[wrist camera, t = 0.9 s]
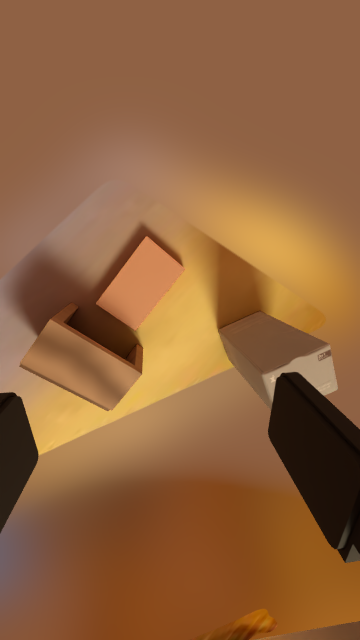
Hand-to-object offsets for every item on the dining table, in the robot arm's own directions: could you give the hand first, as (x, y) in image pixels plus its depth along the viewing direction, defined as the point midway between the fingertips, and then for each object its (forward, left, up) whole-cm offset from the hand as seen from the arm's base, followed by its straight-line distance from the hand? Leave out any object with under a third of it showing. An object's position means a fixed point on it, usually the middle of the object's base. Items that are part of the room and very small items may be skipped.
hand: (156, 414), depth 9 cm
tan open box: (-13, +1, -28) cm, 31 cm away
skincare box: (+3, -18, -28) cm, 33 cm away
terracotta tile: (-1, +1, -28) cm, 28 cm away
